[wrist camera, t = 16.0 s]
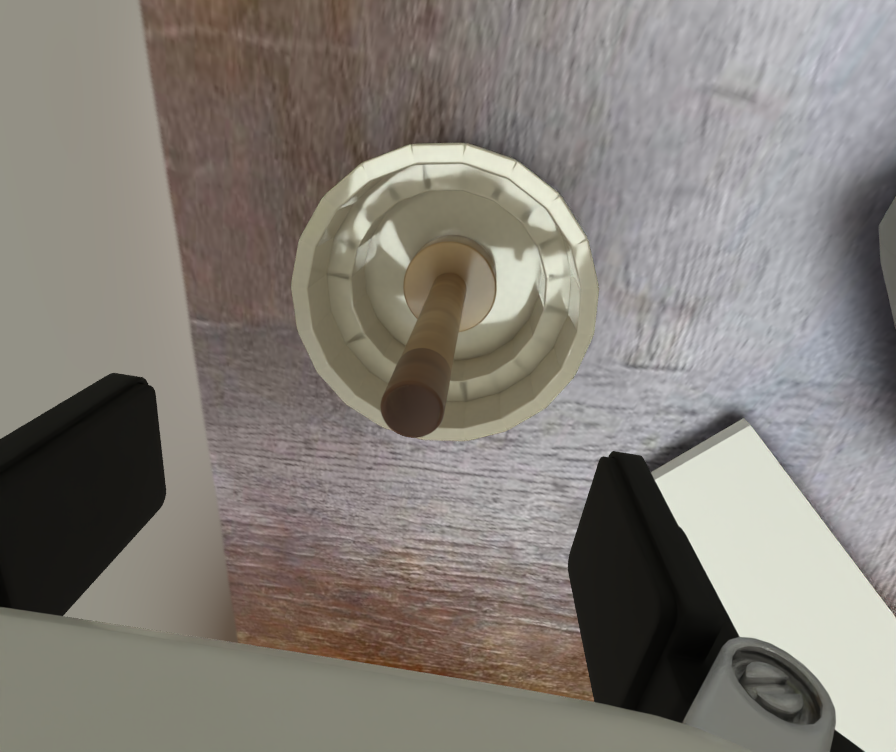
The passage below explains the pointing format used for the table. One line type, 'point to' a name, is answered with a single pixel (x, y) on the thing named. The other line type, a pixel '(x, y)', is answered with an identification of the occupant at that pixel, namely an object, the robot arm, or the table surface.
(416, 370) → the stirrer
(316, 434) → the table surface
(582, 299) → the bowl
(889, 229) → the jar
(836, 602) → the wall bracket
